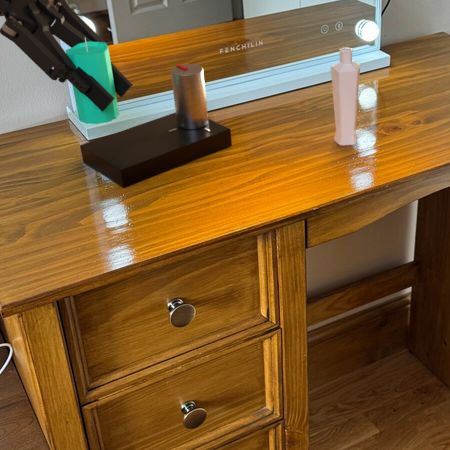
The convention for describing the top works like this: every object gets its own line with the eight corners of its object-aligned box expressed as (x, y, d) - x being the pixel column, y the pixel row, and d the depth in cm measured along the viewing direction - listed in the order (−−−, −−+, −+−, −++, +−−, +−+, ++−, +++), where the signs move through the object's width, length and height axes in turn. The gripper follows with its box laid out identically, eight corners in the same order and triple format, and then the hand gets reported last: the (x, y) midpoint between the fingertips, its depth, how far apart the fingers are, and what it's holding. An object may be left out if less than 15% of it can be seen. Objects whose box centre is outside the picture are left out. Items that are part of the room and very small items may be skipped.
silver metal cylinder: (214, 123, 123) (209, 67, 118) (189, 132, 120) (182, 75, 115) (196, 114, 126) (190, 60, 121) (171, 123, 123) (164, 68, 118)
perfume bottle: (346, 149, 120) (346, 56, 112) (327, 141, 123) (326, 50, 115) (366, 140, 123) (368, 49, 115) (347, 132, 125) (347, 43, 118)
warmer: (123, 188, 111) (120, 169, 109) (82, 162, 119) (79, 144, 117) (239, 142, 123) (238, 124, 122) (196, 122, 131) (194, 104, 129)
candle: (109, 105, 119) (96, 28, 112) (125, 116, 114) (113, 38, 108) (72, 115, 116) (56, 37, 109) (88, 127, 111) (73, 47, 105)
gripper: (21, -19, 118) (133, 91, 122) (-57, 13, 103) (72, 137, 107) (44, -54, 113) (159, 61, 118) (-34, -25, 99) (99, 105, 103)
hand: (117, 97), depth 112 cm, fingers closed on candle, 5 cm apart
